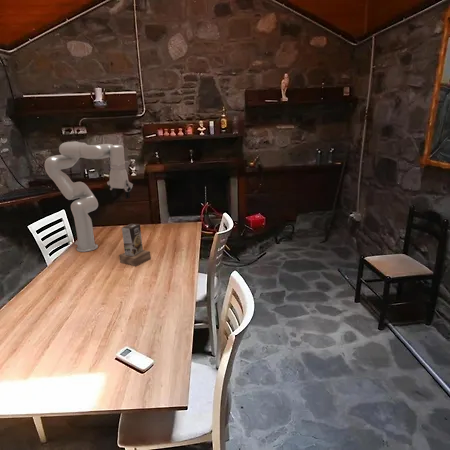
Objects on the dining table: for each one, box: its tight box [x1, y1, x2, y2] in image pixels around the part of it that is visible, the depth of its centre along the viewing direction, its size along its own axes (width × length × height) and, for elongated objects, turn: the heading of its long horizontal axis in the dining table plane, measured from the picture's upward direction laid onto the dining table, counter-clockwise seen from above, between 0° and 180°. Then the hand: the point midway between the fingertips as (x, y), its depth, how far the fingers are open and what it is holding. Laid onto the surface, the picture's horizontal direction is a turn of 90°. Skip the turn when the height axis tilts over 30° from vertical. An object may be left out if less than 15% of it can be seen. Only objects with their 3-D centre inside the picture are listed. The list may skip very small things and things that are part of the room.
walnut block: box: [118, 249, 152, 267], centre depth 198 cm, size 12×12×5 cm
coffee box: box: [121, 223, 144, 256], centre depth 195 cm, size 9×6×16 cm
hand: (120, 197), depth 201 cm, fingers open, 9 cm apart
